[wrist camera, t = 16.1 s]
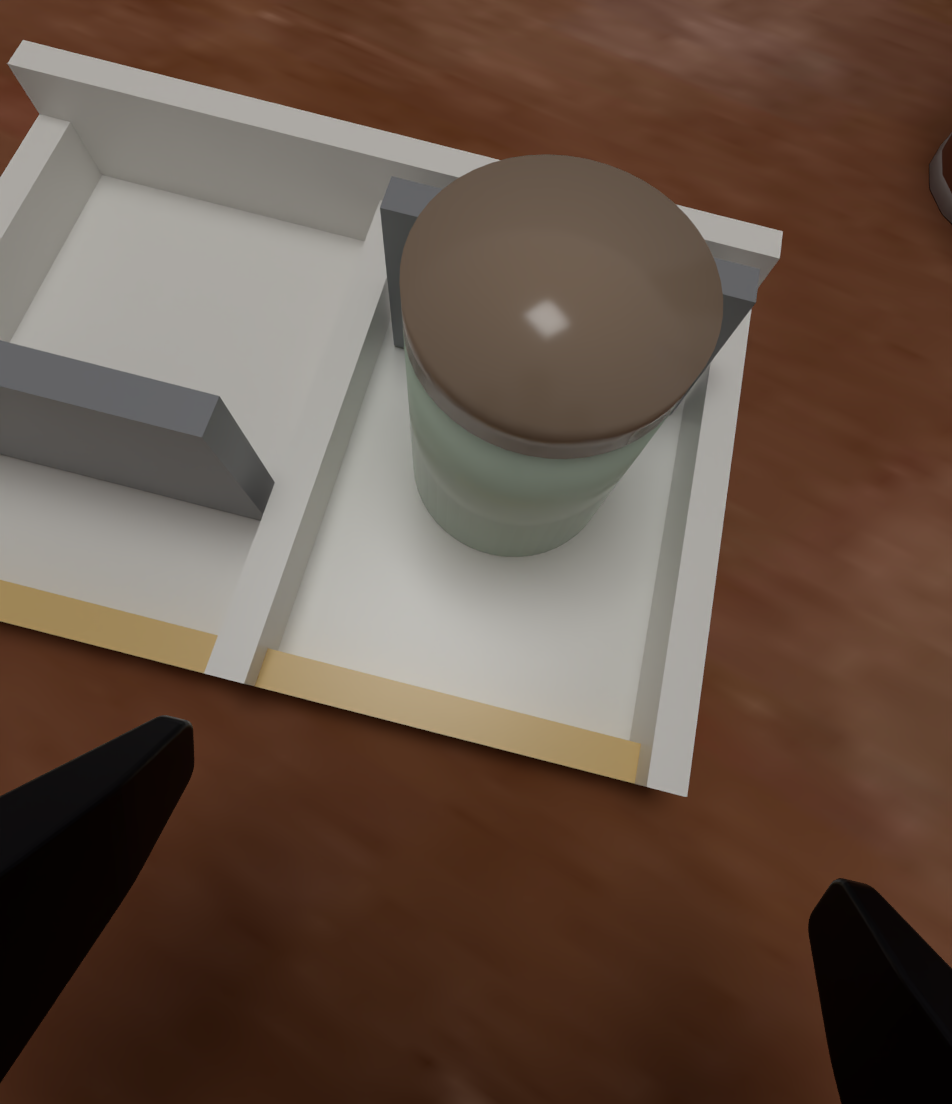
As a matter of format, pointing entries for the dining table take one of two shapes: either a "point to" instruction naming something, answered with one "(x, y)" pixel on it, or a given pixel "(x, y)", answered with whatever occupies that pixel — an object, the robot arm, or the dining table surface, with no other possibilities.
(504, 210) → the sage jar
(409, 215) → the plate
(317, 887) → the dining table surface
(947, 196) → the coffee cup
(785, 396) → the dining table surface
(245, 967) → the dining table surface
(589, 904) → the dining table surface
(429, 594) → the white divided tray
